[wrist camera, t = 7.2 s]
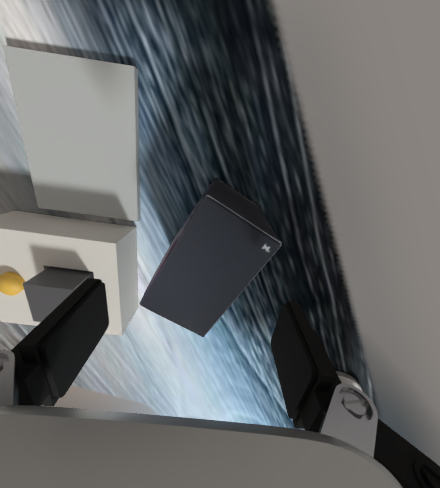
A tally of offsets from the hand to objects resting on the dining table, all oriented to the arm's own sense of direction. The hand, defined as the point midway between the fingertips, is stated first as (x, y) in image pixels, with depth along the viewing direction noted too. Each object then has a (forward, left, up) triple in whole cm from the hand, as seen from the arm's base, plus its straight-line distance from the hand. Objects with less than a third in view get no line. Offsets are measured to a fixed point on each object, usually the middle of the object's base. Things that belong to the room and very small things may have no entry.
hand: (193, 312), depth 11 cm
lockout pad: (+7, +14, -14) cm, 21 cm away
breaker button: (-7, +14, -13) cm, 20 cm away
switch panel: (-7, +16, -14) cm, 23 cm away
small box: (0, 0, -15) cm, 15 cm away
